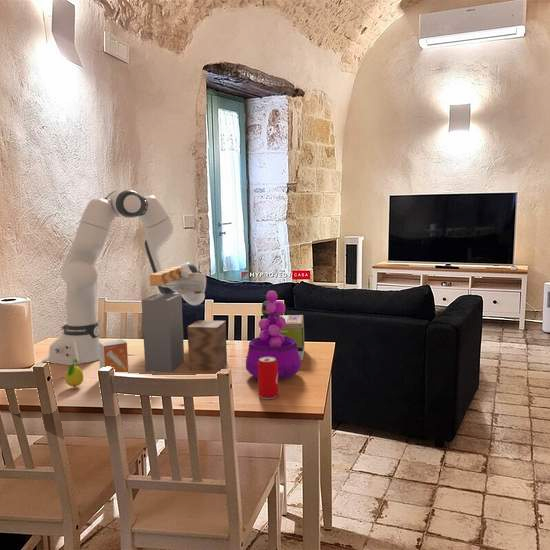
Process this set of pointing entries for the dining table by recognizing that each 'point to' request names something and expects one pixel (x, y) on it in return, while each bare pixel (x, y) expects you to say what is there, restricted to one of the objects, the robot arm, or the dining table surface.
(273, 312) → the decorative plant
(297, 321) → the tea box
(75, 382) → the lemon
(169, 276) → the orange bar
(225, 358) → the walnut pedestal
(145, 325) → the charcoal stand
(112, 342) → the small box
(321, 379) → the dining table surface
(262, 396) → the beverage can
